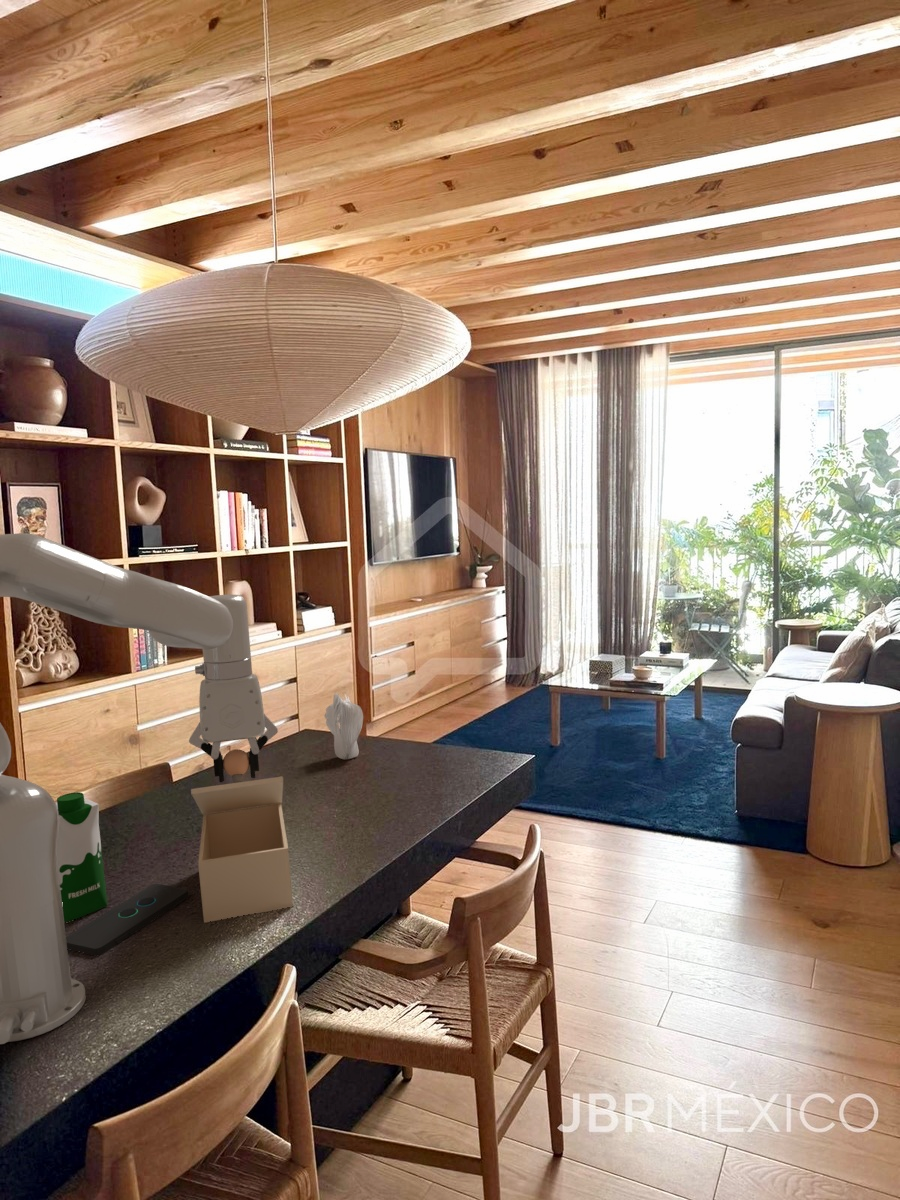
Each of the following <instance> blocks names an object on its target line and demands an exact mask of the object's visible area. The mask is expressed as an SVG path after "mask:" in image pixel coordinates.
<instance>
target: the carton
mask: <svg viewBox="0 0 900 1200" xmlns="http://www.w3.org/2000/svg"><path fill="white" fill-rule="evenodd" d="M201 826H202V827H201V836H200V843H199V844H200V845H199V852H198V860H197V864H198V873H199V874H198V875H199V884H200V894H201V896H200V897H201V904H202V905H201V906H202V907H201V908H202V916H203V923H211V922H215V921H220V920H221V919H222V920H226V919H227V918H228V919H232V918H231V917H233V918H237V916H239V917H244V916H243V915H245V916H249V915H248V914H250V915H254V913H256V914H260V913H267V912H272V910H273V911H278V910H283V909H282V908H284V909H288V908H287V907H290V908H293V907H294V902H293V901H294V900H293V891H292V890H293V889H292V877H291V867H290V855H289V844H288V839H287V831H286V826H285V821H284V814H283V806H282V803H277V804H271V805H264V806H257V807H250V808H243V809H236V810H229V811H222V812H215V813H209V814H203V818H202V825H201ZM292 906H293V907H292ZM277 909H278V910H277ZM210 921H211V922H210Z"/></svg>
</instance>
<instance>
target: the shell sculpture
mask: <svg viewBox="0 0 900 1200" xmlns="http://www.w3.org/2000/svg"><path fill="white" fill-rule="evenodd" d="M344 697H345V698H344ZM332 700H333V702H332V703H331V704H330V705H328V706H327V707H326V709H325V711H326V712H325V714H324V719H325V720H326V721H325V725H326V727H327V728H328V729H329V731H330V733H331V734H332V735H333V740H334V741H333V743H334V744H333V746H334V754H335V755H336V757H337V758H339V759H340V760H341V759H342V760H350V759H354V758H356V757H358V755H359V754H360V753H359V752H360V751H359V746H358V742H357V741H358V738H359V736H360V734H361V731H362V728H363V724H364V723H363V721H364V713H363V710H362V707H361V706H360V705H358V704H357V703H354V702H351V700H350V696H349V695H346V693H345V692H344V694H343V695H342V697H341V695H339V693H334V695H333V699H332Z"/></svg>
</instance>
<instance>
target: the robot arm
mask: <svg viewBox="0 0 900 1200" xmlns="http://www.w3.org/2000/svg"><path fill="white" fill-rule="evenodd" d="M1 597H2V598H17V599H20V600H24V601H28V602H30V603H35V604H37V605H40V606H44V607H46V608H50V609H52V610H53V609H54V610H56V611H59V612H63V613H66V614H68V615H72V616H74V617H75V618H76V617H77V618H80V619H83V620H86V621H89V622H93V623H95V624H99V625H100V624H101V625H105V626H109V627H117V628H125V629H137V630H144V631H148V633H149V635H150V637H151V638H152V639H153V640H154V641H155V642H157V643H158V644H161V645H162V646H163V645H164V646H166V647H171V648H182V649H183V648H185V649H188V648H189V649H198V650H199V649H200V650H202V657H203V662H202V664H200V665H195V667H194V672H195V675H201V676H203V677H204V679H201V681H200V686H199V698H198V699H199V700H198V702H199V703H198V704H199V722H198V724H197V725H196V727H195V729H194V730H193V732H192V733H191V735H190V737H189V738H188V739H189V740H188V743H189V744H190V745H193V747H194V746H195V747H196V748H199V749H201V751H203V752H204V753H206V754H207V755H208V756H210V757H211V759H213V769H214V777H218V780H219V783H223V782H225V770H224V768H223V759H224V757H223V755H222V752H221V750H220V749H221V743H223V742H225V743H226V742H230V741H240V740H247V741H248V744H249V751H248V756H249V760H250V766H249V768H250V771H249V772H250V778H252V779H256V772H259V771H260V765H259V764H260V763H259V753H260V751H261V750H262V748H263V747H264V746H265V745H266V744H267V743H268V742H269V740H271V739H272V738H273V737H275V736H276V735H277V734H278V732H279V730H278V727H277V726H276V725H275V724H274V723H273V721H271V719H270V718H269V717H268V716H267V715H266V714H265V712H264V703H263V696H262V691H261V690H262V689H261V686H260V683H259V678H258V676H257V675H256V674H253V667H252V665H253V664H252V657H251V656H252V655H251V641H250V640H251V639H250V630H249V620H248V619H249V618H248V607H247V601H246V599H245V598H244V597H243V596H242V595H241V594H240V595H239V594H218V595H210V596H208V595H206V594H204V593H201V592H199V591H197V590H194V589H191V588H189V587H186V586H183V585H180V584H176V583H174V582H170V581H166V580H163V579H159V578H156V577H152V576H149V575H146V574H143V573H140V572H137V571H134V570H132V569H126V568H124V567H123V568H122V567H119V566H117V565H114V564H112V563H109V562H106V561H104V560H101V559H99V558H96V557H94V556H91V555H88V554H86V553H83V552H81V551H79V550H76V549H73V548H71V547H70V546H69V547H68V546H67V545H65V544H61V543H59V542H57V541H54V540H51V539H49V538H47V537H46V538H45V537H43V536H40V535H37V534H32V533H26V532H19V533H5V534H0V598H1ZM265 729H266V731H265ZM211 743H212V744H211ZM11 758H12V745H11V741H10V739H9V736H8V733H7V731H6V730H5V728H4V726H3V724H2V723H1V722H0V1045H4V1044H6V1043H9V1042H10V1043H11V1042H19V1041H23V1040H27V1039H31V1038H35V1037H37V1036H40V1035H43V1034H46V1033H48V1032H50V1031H52V1030H54V1029H56V1028H58V1027H60V1026H61V1025H63V1024H65V1023H67V1022H68V1021H70V1020H71V1018H73V1017H74V1016H76V1014H77V1013H78V1012H79V1011H80V1010H81V1009H82V1008H83V1006H84V1004H85V1001H86V999H87V996H86V988H85V985H84V984H83V983H82V982H81V981H79V980H77V979H74V978H72V977H71V969H70V960H69V950H67V941H66V937H67V935H66V923H65V922H64V916H63V907H62V899H61V890H60V884H59V875H58V862H57V843H58V832H59V814H58V809H57V806H56V802H55V800H54V798H53V797H52V795H51V794H50V793H49V792H48V791H47V790H45V789H44V788H43V787H42V786H40V785H39V784H36V783H34V782H31V781H29V780H25V779H21V778H18V777H15V776H12V775H11V776H8V775H5V774H3V773H4V772H5V771H6V770H7V767H8V766H9V764H10V761H11Z"/></svg>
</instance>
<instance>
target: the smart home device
mask: <svg viewBox="0 0 900 1200" xmlns="http://www.w3.org/2000/svg"><path fill="white" fill-rule="evenodd" d="M188 896H189V897H190V891H189V888H185V887H178V886H172V885H166V884H160V883H159V884H158V883H154V884H151V885H150V886H147V887H146V888H145V889H143V890H141V891H140V892H138V893H136V894H135V895H133V896H131V897H130V898H128V899H127V900H125V901H123V902H122V903H119V904H118V905H116V906H114V908H112V909H109V910H108V911H106V912H104V913H103V914H101V915H99V916H98V917H97V918H94V919H93V920H92V921H90V922H88V923H87V924H85V925H83V926H82V927H80V928H78V929H77V930H75V931H73V932H72V933H70V934H68V935H66V941H67V948H68V949H71V950H70V951H72V950H75V951H74V952H76V951H80V952H79V953H81V952H84V953H83V954H85V953H87V954H86V955H90V954H92V955H91V956H94V955H96V956H95V957H98V956H97V955H99V956H101V955H103V954H104V953H106V952H108V951H110V950H111V949H112V948H114V947H115V946H117V945H118V944H119V943H122V942H123V941H124V940H127V939H128V938H129V937H131V936H132V935H133V934H135V933H137V932H138V931H140V930H141V929H143V928H144V927H146V926H147V925H149V924H150V923H152V922H153V921H154V919H155V920H156V919H158V918H159V917H161V916H162V915H164V914H166V913H167V912H169V911H170V910H171V909H173V908H174V907H176V906H177V905H179V904H181V903H182V902H183V901H185V900H187V899H188V898H189V897H188ZM163 913H164V914H163ZM157 917H158V918H157ZM152 920H153V921H152ZM151 921H152V922H151ZM148 923H149V924H148ZM146 924H147V925H146ZM145 925H146V926H145ZM143 926H144V927H143ZM142 927H143V928H142ZM139 929H140V930H139ZM136 931H137V932H136Z"/></svg>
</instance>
